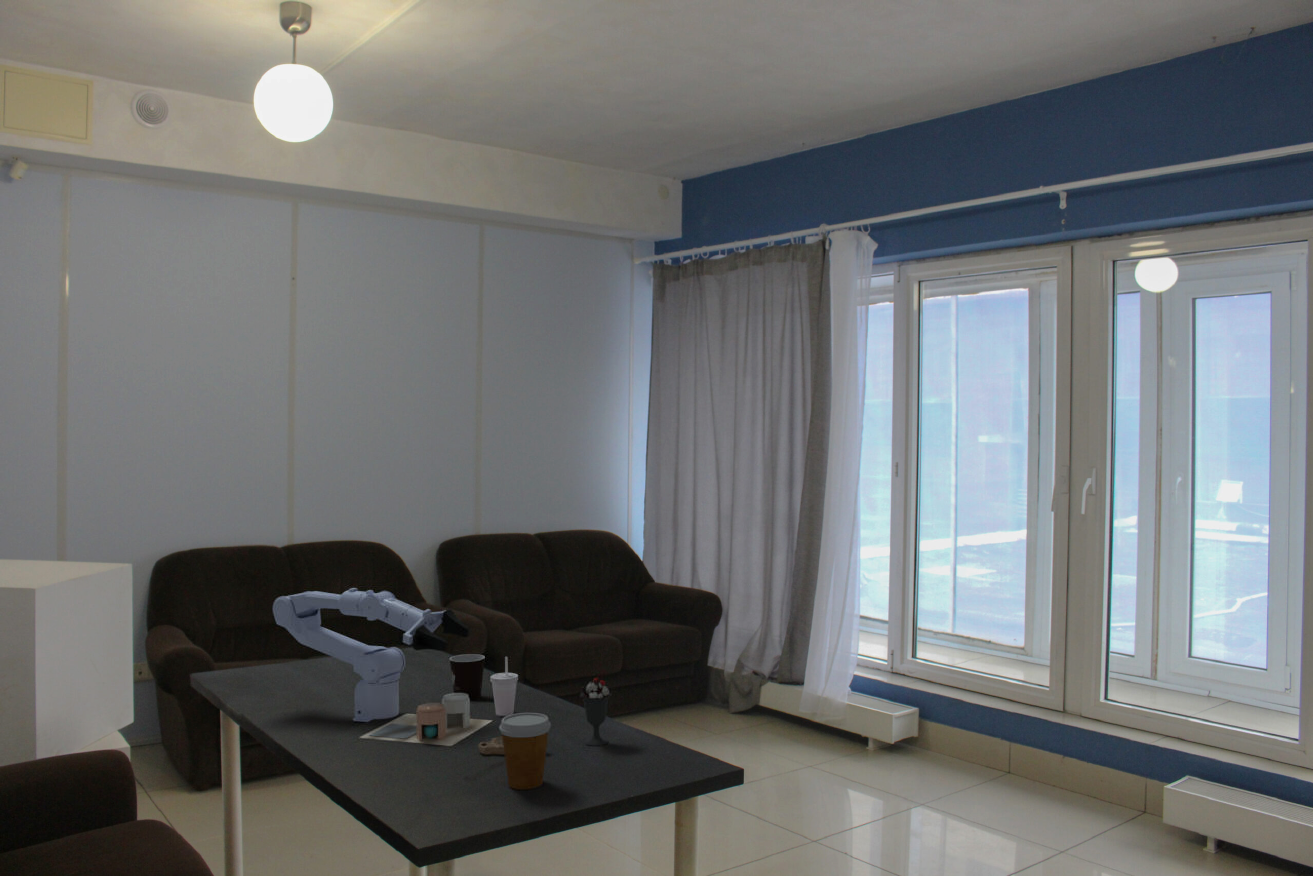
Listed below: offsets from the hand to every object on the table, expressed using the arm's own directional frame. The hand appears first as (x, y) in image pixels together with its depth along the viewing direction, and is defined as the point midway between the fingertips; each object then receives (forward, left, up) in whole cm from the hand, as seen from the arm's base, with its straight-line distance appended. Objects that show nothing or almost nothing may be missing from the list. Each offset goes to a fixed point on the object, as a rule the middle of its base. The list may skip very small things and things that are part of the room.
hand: (457, 639), depth 218 cm
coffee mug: (-11, +26, -20) cm, 34 cm away
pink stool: (-1, -10, -19) cm, 21 cm away
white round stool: (0, -1, -19) cm, 19 cm away
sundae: (+33, -1, -20) cm, 39 cm away
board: (-5, -5, -20) cm, 21 cm away
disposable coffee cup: (+29, -28, -20) cm, 45 cm away
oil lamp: (+19, -13, -20) cm, 31 cm away
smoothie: (+6, +11, -20) cm, 23 cm away
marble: (-1, -10, -17) cm, 20 cm away
